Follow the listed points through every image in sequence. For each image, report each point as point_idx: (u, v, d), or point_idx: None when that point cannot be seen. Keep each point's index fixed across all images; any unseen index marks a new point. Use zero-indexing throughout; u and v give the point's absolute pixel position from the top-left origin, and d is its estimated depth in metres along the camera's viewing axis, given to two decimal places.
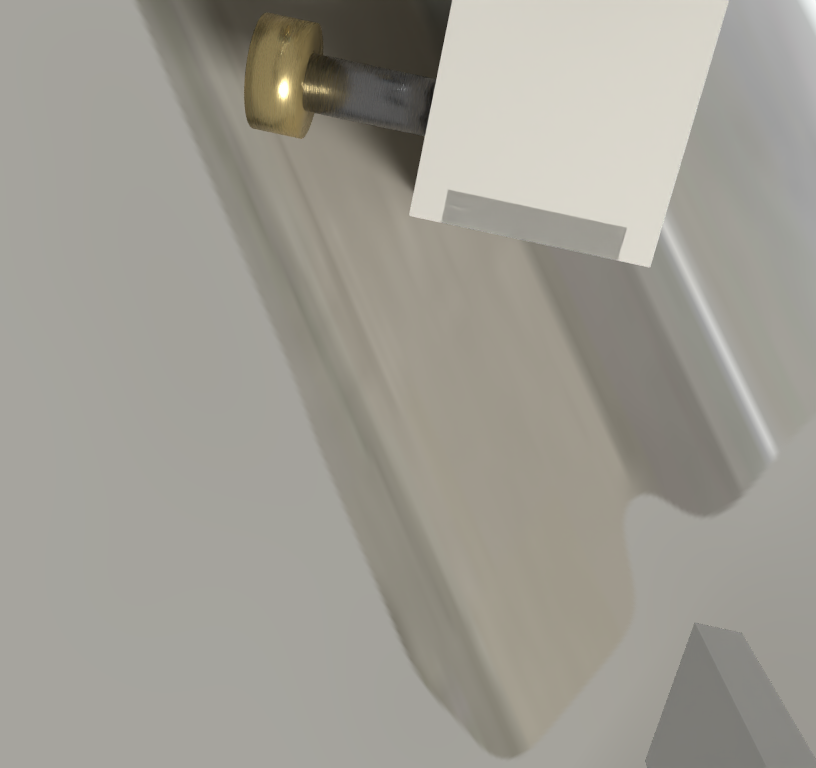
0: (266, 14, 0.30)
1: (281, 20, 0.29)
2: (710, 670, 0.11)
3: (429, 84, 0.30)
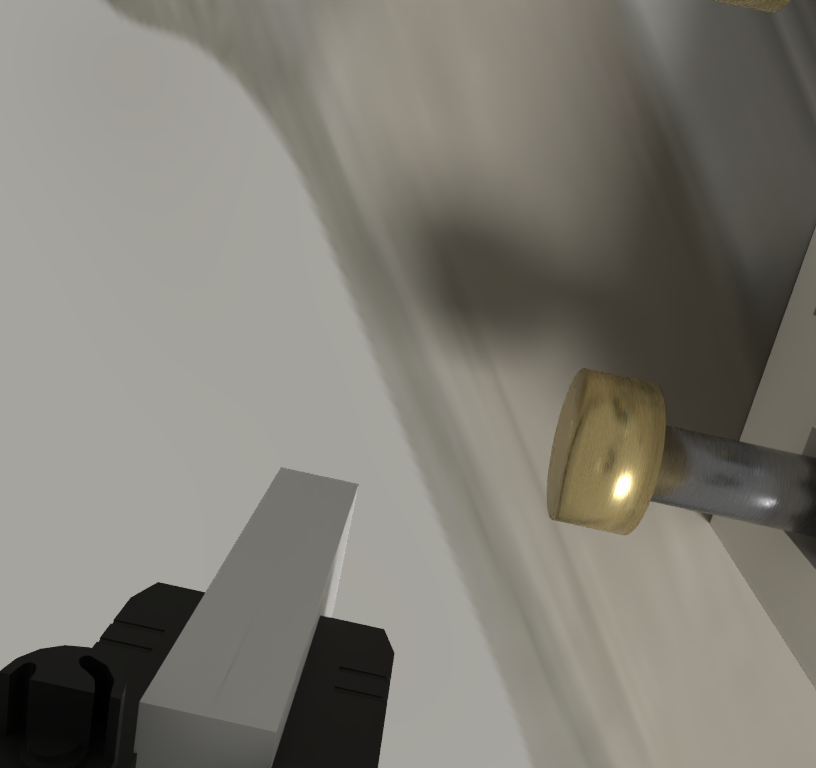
0: (594, 385, 0.21)
1: (620, 398, 0.20)
2: (308, 506, 0.13)
3: None
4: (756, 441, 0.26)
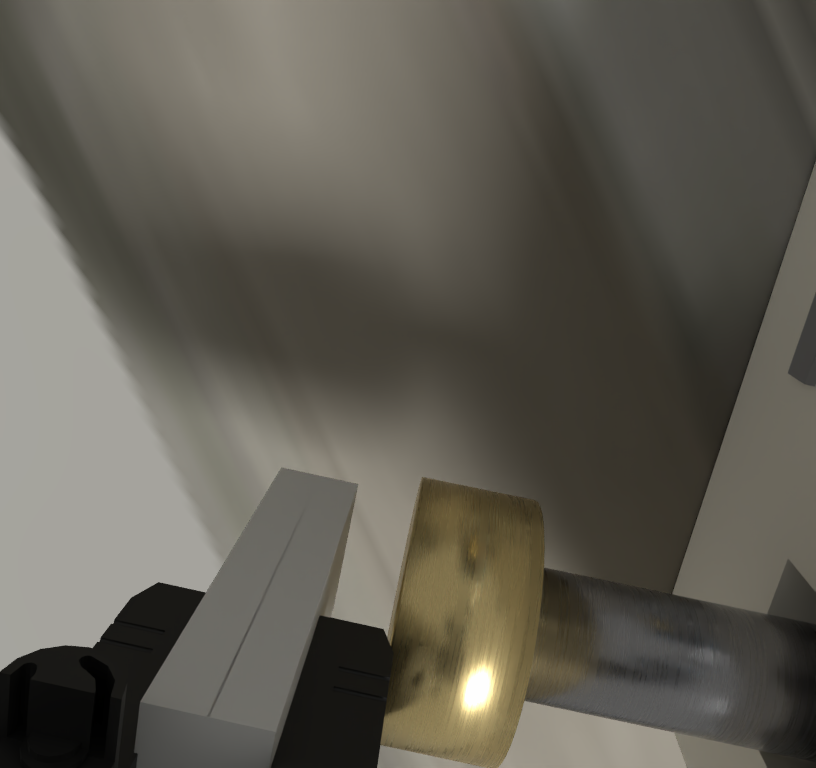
0: (423, 519, 0.12)
1: (465, 545, 0.12)
2: (307, 506, 0.13)
3: None
4: (709, 557, 0.18)
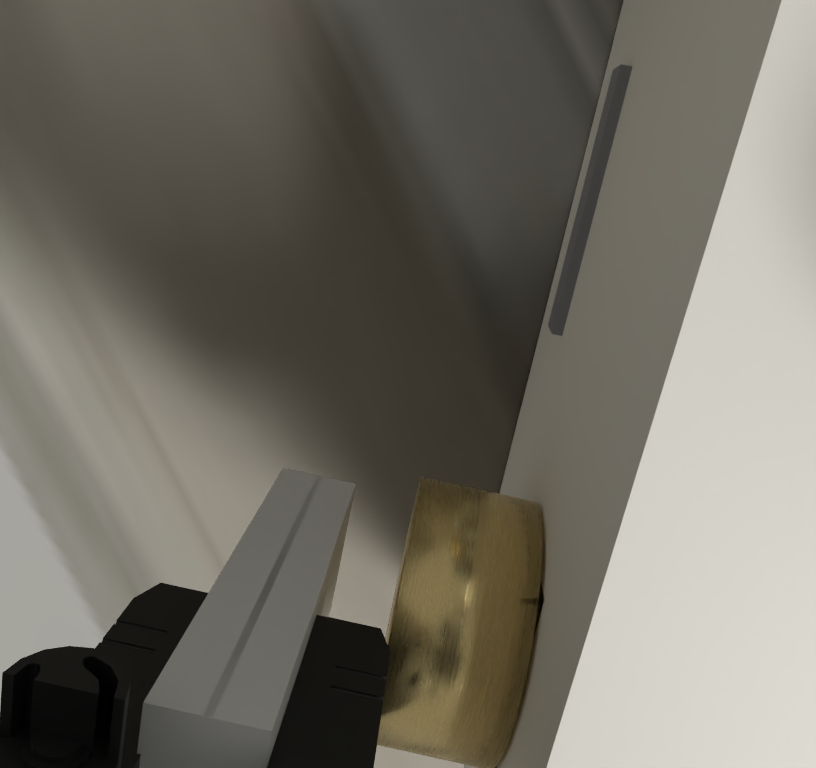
0: (421, 519, 0.12)
1: (461, 545, 0.12)
2: (304, 504, 0.13)
3: None
4: None
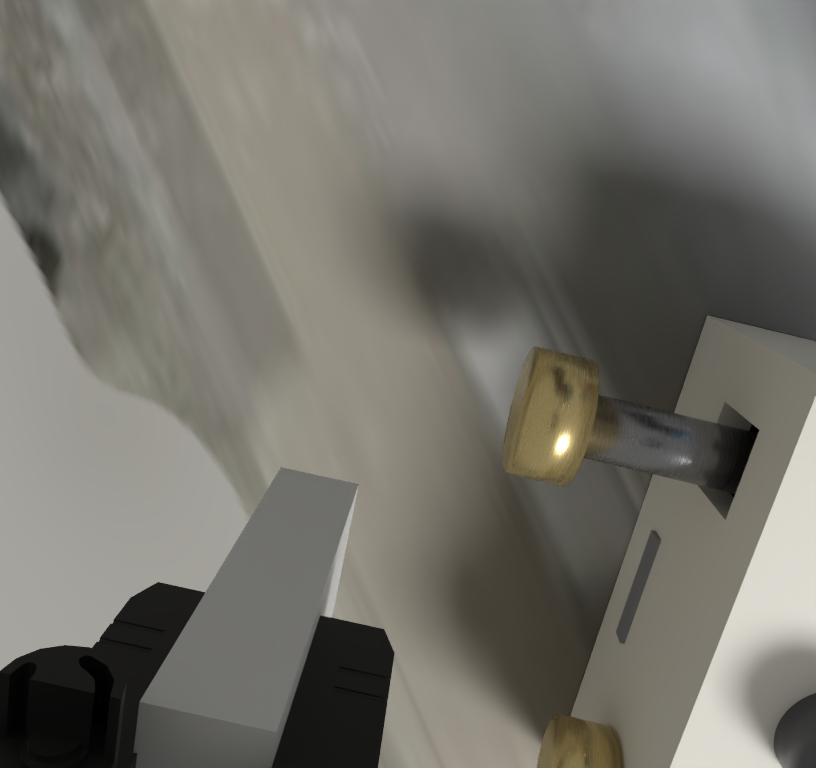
0: (571, 746, 0.29)
1: (589, 759, 0.28)
2: (308, 506, 0.13)
3: None
4: (583, 708, 0.34)
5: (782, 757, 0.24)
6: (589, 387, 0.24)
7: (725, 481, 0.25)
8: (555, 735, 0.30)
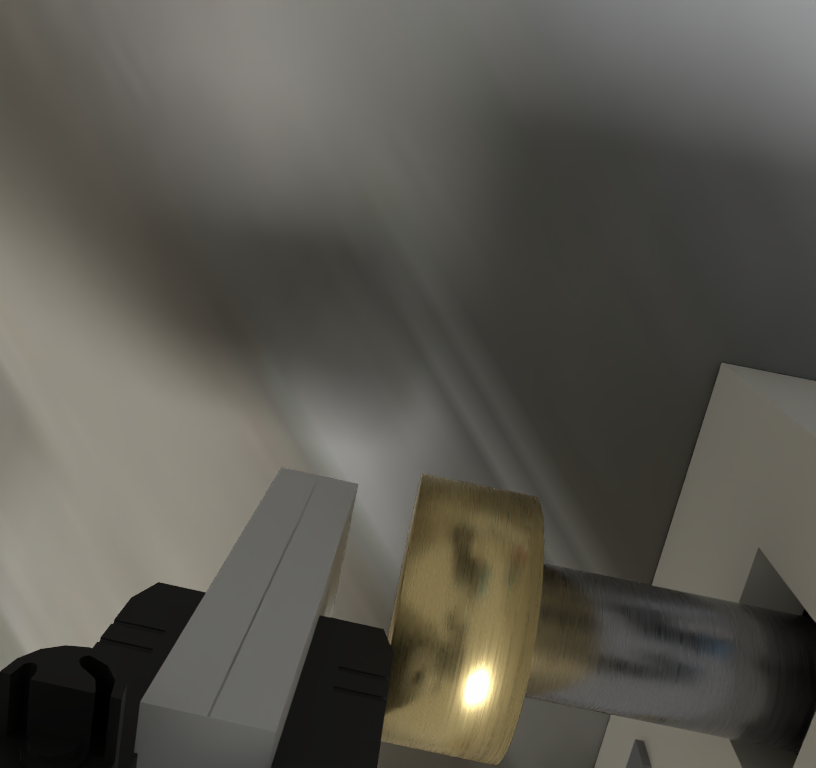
0: None
1: None
2: (307, 505, 0.13)
3: None
4: None
5: None
6: (521, 583, 0.11)
7: None
8: None
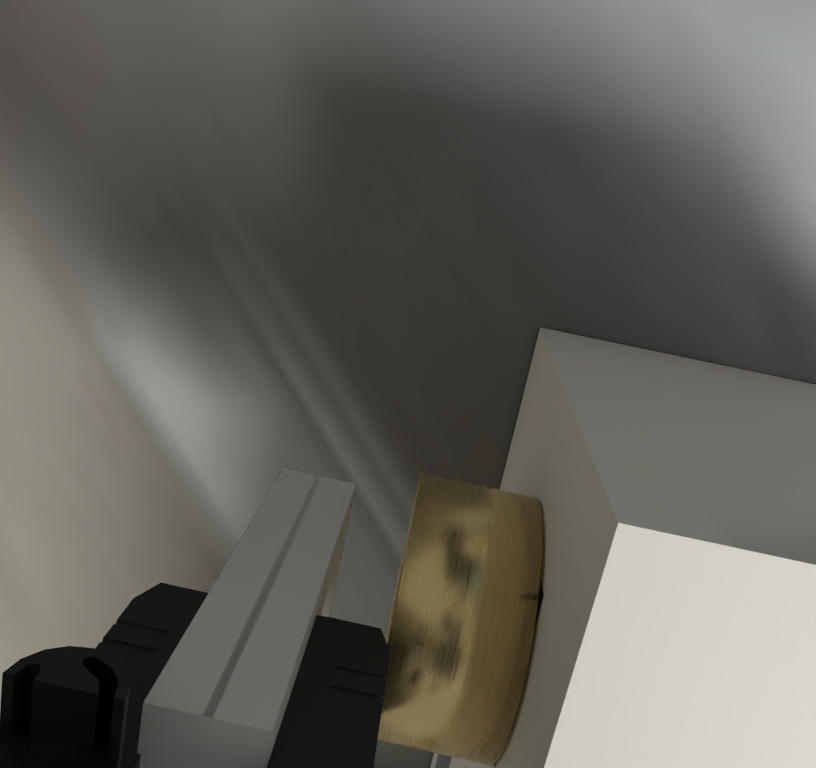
0: None
1: None
2: (304, 504, 0.13)
3: None
4: None
5: None
6: (518, 583, 0.11)
7: None
8: None
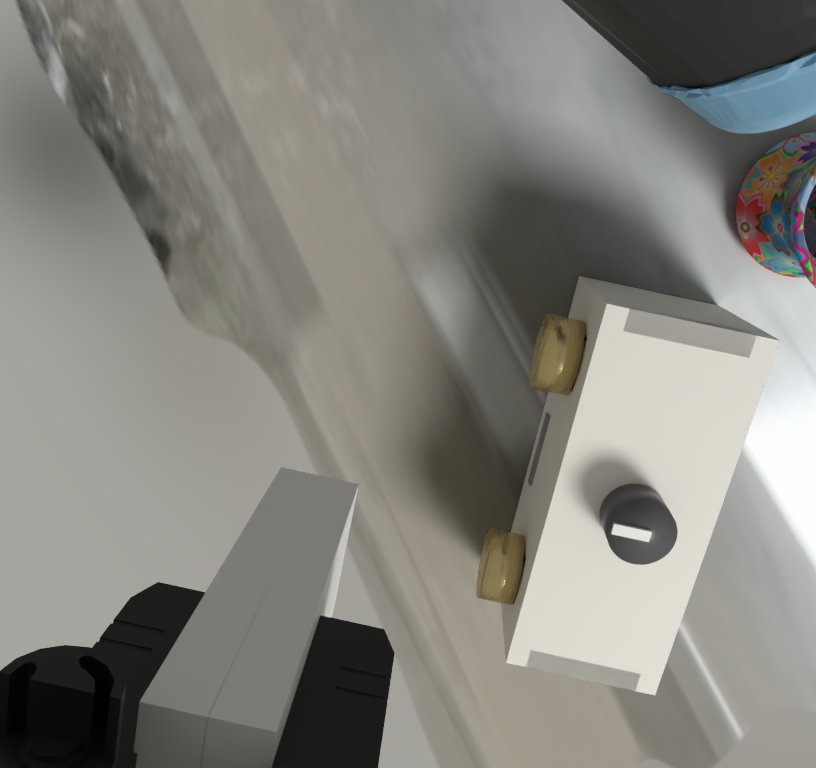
0: (493, 540, 0.47)
1: (504, 546, 0.47)
2: (307, 506, 0.13)
3: None
4: None
5: (601, 522, 0.42)
6: (579, 335, 0.42)
7: None
8: (487, 540, 0.49)
